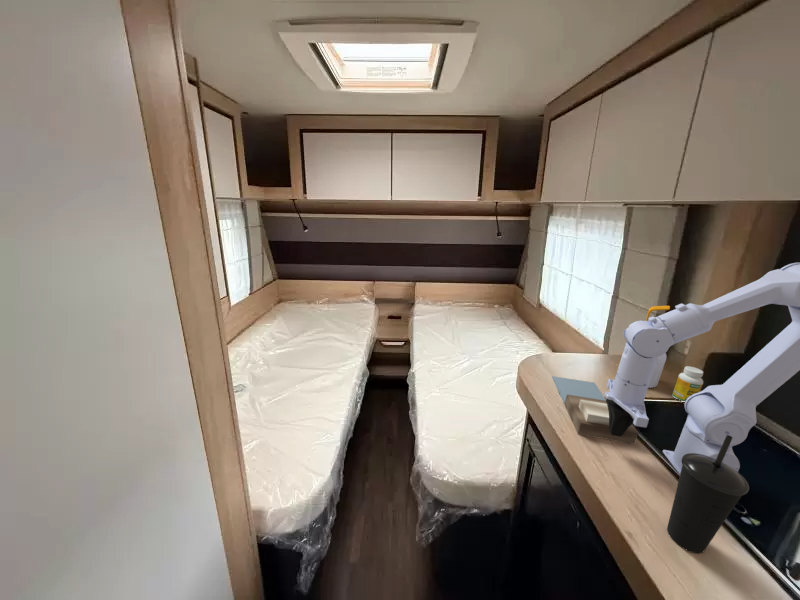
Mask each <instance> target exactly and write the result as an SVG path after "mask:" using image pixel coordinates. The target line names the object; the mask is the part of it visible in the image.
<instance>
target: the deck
mask: <svg viewBox="0 0 800 600" xmlns="http://www.w3.org/2000/svg"><path fill="white" fill-rule="evenodd" d="M580 400H586V401H593V402H599V403H605V404H607V403H606V401H605V400H598V399H592V398H586V397H580V396H574V395H567V396H566V400H565V403H564V406H565V408H566V411H567V413H568V415H569V418H570V419H571V422H572V424H573V426H574V429H575V431H576V433H577V434H578V435H582V436H586V437H594V438H599V439H604V440H609V441H616V442H621V443H628V444H634V445H635V443H636V440H637V438H638V434H639V432H638V430H637V429H636V428H635V425H634V424H632V425H630V427H629V429H627V430H626V431H625V433H624V434H623V435H622V436H615V435H611V433H610V431H609V425H604V424H598V423H592V422H586V420H585V418H584V416H583V414H582V412H581V410H580V408H579V403H580Z"/></svg>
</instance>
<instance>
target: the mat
mask: <svg viewBox="0 0 800 600" xmlns="http://www.w3.org/2000/svg"><path fill="white" fill-rule="evenodd" d="M551 378H552V380H553V382H554V384H555V386H556V389H557V391H558V393H559V395H560V398H561V400H562V403H564V404H565V400H566V396H567V395H574V396H580V397H586V398H592V399H598V400H605V401H606V399H607V398H606V397H605V395H604V394H603V393H602V391H601V390H600V389H599V387H598V386H597V384H596V383H595V382H593V381H587V380H580V379H579V380H578V379H575V378H566V377H560V376H554V375H552V377H551Z"/></svg>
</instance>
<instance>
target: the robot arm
mask: <svg viewBox="0 0 800 600" xmlns="http://www.w3.org/2000/svg"><path fill="white" fill-rule="evenodd" d="M772 304H773V305H780V306H787V307H788V311H789V314H790V317H791V322H790V324H788V325H787V326H786V327H785V328H784V329H783V330H781V331H780V333H778V334H777V335H776V336H775V337H774V338H773V339H772V340H771V341H769V342H768V343H767V344H766V345H765V346H764V347H763V348H761V350H759V351H758V352H757V353H756V354H755V355H754V356H753V357H751V359H750V360H748V361H747V362H746V363H745V364H744V365H743V366H742V367H741V368H740V369H738V370H737V371H736V372H735V373H733V375H731V376H730V377H729V378H728V379H727V380H726V381H725V382H723V384H722V383H721V384H715V385H714V384H713V385H708V386H707V387H705V388H704V389H703V390H700V392H699V393H696V394H693V395H691V396H690V397H688V398H687V400H686V401H685V403H684V409H685V412H686V413H687V417H686V421H685V423H684V425H683V428H682V431H681V433H680V437H679V438H678V441H677V444H676V446H675V449H674V451H673V450H669V449H668V450H667V449H663V450H662V453H663V454H664V456H665V457H666V459H668V461H669V462H670V465H672V466H673V468H674V469H675V470H676V472H677V473H678V475H680V473H681V469H682V457H683V456H684V455H685V454H688V453H696V454H702V455H705V456H709V457H711V458H714V459H716V458H717V456H718V454H719V451H720V449H721V447H722V445H723V442H724V440H725V438H726V435H729V436H731V437H733V438H732V441H731V443H730V445H729V447H728V450H727V452H726V454H725V457H724V459H723V461H722V462H723V463H724V464H726V465H728V466H730V467H731V468H733V469H734V470H736V471H737V472H738V473H739V470H740V468H741V463H740V460H739V459H738V457H737V456H736V455H735V453H734V450H733V447H734V446H738V445H740V444H741V443H743V442H745V440H746V439H747V437H748V434H749V432H750V430H751V429H752V428H753V427H754V426H755V425H756V424H757V412H756V408H757V406H758V405H760V403H762V402H763V401H764V400H765V399H767V398H768V397H769V396H771V394H773V393H774V392H776V390H778V388H780V387H781V386H782V385H784V384H785V383H786V382H787V381H789V380H790V379H791V378H793V376H795V375H796V374H797V373H798V372H799V371H800V262H793V263H788V264H787V265H784V266H783V267H781V268H777V269H774V270H770V271H768V272H767V273H765V274H764V275H763V276H762V277H760V278H759V279H757V280H755V281H752V282H750V283H748V284H746V285H744V286H742V287H740V288H737V289H735V290H733V291H730V292H728V293H725V294H724V295H722V296H720V297H718V298H715V299H712V300H711V301H709V302H706V303H704V304H696V303H691V302H689V303H687V304H684V303H679V304H677V305H675V306H674V308H675V309H673V310H670V311H668V312H665V313H662V314H659V315H658V316H656V317H655V316H649V318H648V321H646V320H635V321H634V322H632V323H630V324H629V325H628V327H627V328H626V329H625V328H624V329H623V337H624V340H625V341H626V342H625V346H624V349H623V352H622V354H621V358H620V360H619V361H620V362H619V365H618V367H617V371H616V375H615V377H614V379H613V378H612V379H610V378H608V380H607V383H606V388H607V389H608V391H605V392H604V394H603V396H604V397H605V399H606V403H607V406H608V411H609V431H610V433H611V435H615V436H622V435H623V434H624V433H625V431H626V430H627V429H628V428H629V427H630V425H633V426H634V427H640V428H647V427H648V424H649V420H650V418H649V417H648V416H647V411H646V405H645V398H646V396H647V393H648V389H649V388H648V387H649V383H650V380H651V377H652V374H653V371H654V368H655V366H656V362H657V359H658V356H662V355H663V354H665V353H666V354H667V352H668V351H669V348H670V347H671V346H674V345H675V344H678V343H680V342H681V343H682V342H683V341H685V340H688V339H691V338H694V337H696V336H699V335H702V334H705V333H707V332H710V331H711V330H712V328H713V326H714V324H715V322H718V321H721V320H724V319H726V318H729V317H733V316H737V315H740V314H742V313H745V312H749V311H752V310H755V309H758V308H760V307H765V306H767V305H772Z"/></svg>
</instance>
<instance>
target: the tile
mask: <svg viewBox="0 0 800 600" xmlns="http://www.w3.org/2000/svg"><path fill="white" fill-rule="evenodd" d="M579 408H580V410H581V412H582V414H583V416H584V418H585V420H586V422H592V423H598V424H604V425H609V411H608V406H607V404H605V403H599V402H593V401H586V400H580V403H579ZM628 429H629V428H628Z"/></svg>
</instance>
